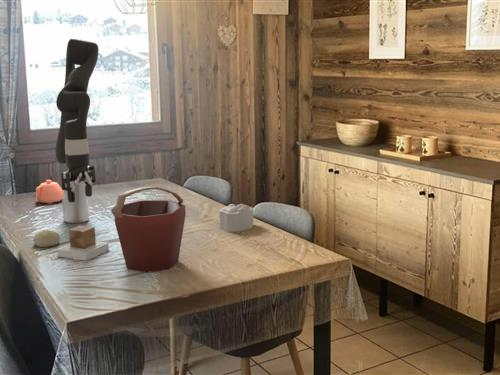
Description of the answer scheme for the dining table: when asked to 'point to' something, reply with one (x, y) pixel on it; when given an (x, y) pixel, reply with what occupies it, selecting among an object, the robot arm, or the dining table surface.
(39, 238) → the sea urchin shell
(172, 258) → the bucket
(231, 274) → the dining table surface
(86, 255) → the tray
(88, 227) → the walnut cube
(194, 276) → the dining table surface
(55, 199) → the sugar bowl
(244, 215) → the lumpy-topped squat cylinder
